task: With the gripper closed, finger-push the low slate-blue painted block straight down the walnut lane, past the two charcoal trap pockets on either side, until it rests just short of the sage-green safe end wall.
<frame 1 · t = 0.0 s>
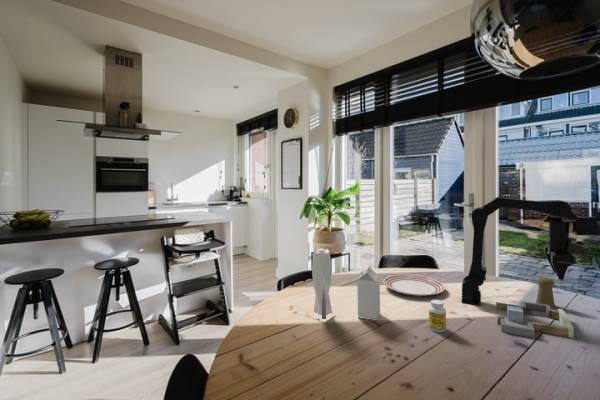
hand: (558, 276, 112), 15 cm above the table, fingers open, 9 cm apart
skyscraper: (322, 317, 118), on the table
milk carton: (369, 316, 117), on the table
walnut lane: (530, 321, 108), on the table
cork: (545, 305, 122), on the table
dinner plate: (413, 290, 144), on the table
supplement bottle: (437, 329, 105), on the table
safe end wall: (565, 322, 103), on the table
trap pockets: (530, 321, 108), on the table
slate block: (514, 319, 111), on the table
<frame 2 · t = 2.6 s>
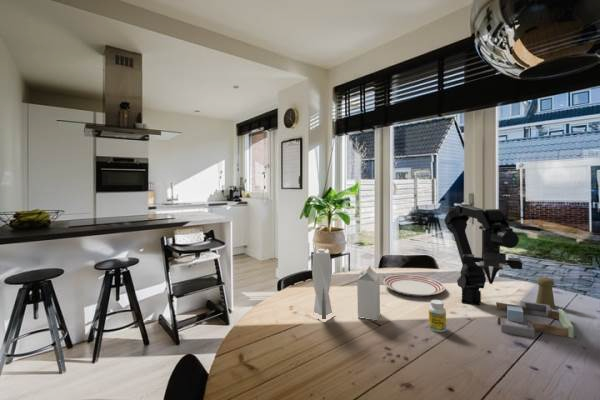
hand: (490, 283, 114), 12 cm above the table, fingers closed
nothing on the table moved.
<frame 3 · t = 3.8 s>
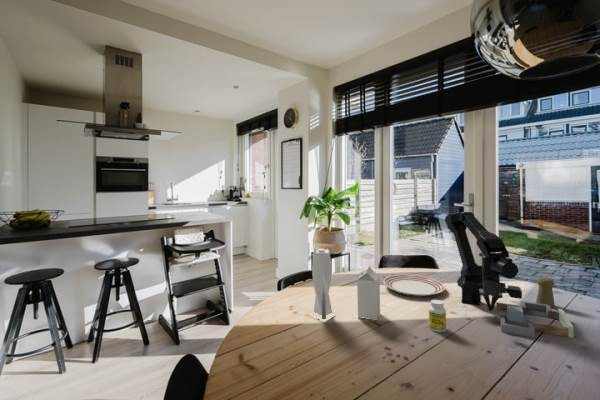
hand: (490, 311, 115), 1 cm above the table, fingers closed
nothing on the table moved.
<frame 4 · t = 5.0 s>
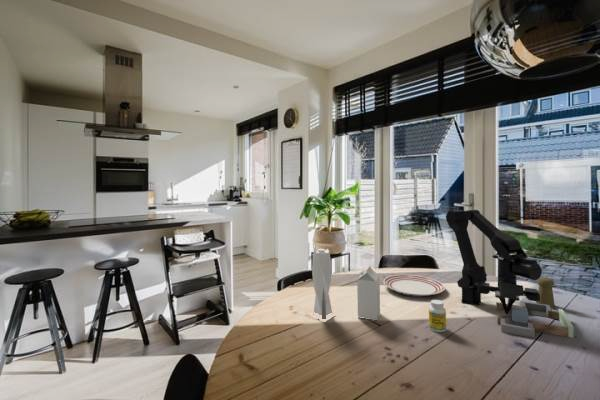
hand: (506, 313, 112), 1 cm above the table, fingers closed
slate block: (519, 319, 110), on the table, touching gripper
everything else where it was.
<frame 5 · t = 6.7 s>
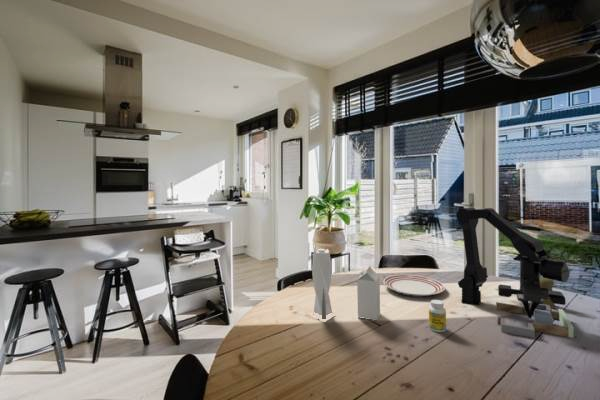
hand: (529, 317, 108), 1 cm above the table, fingers closed
slate block: (542, 323, 107), on the table, touching gripper
everything else where it was.
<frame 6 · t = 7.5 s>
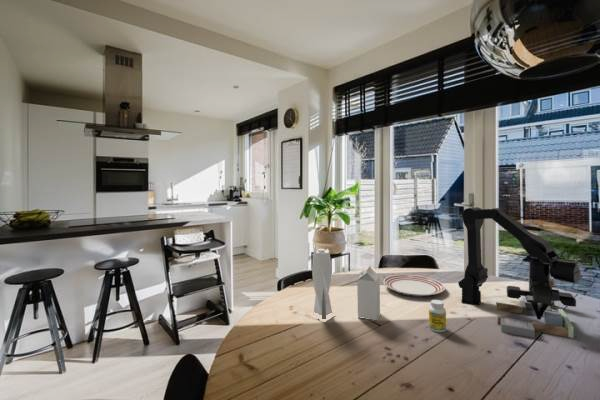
hand: (538, 319, 107), 1 cm above the table, fingers closed
slate block: (552, 325, 105), on the table, touching gripper
everything else where it was.
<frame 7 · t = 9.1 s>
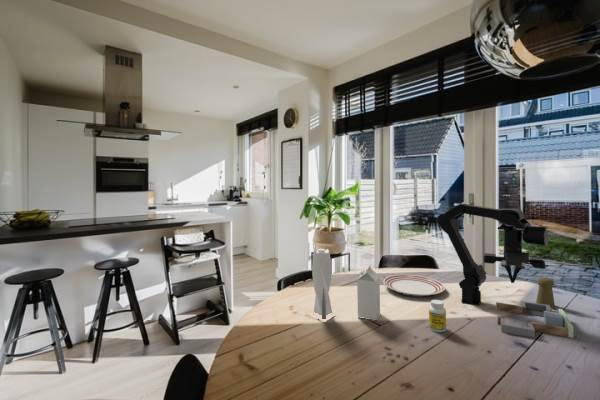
hand: (512, 282, 115), 12 cm above the table, fingers closed
slate block: (552, 325, 105), on the table
everything else where it was.
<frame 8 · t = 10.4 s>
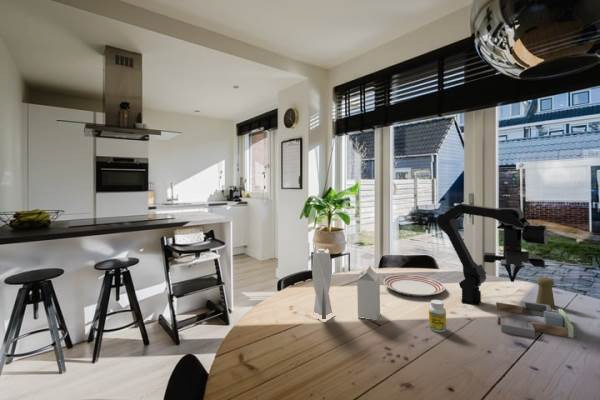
hand: (512, 281, 116), 12 cm above the table, fingers closed
nothing on the table moved.
at the end: slate block inside the target area (0.1 cm from its centre), on the table; slate block tilted 0°; slate block touching table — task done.
